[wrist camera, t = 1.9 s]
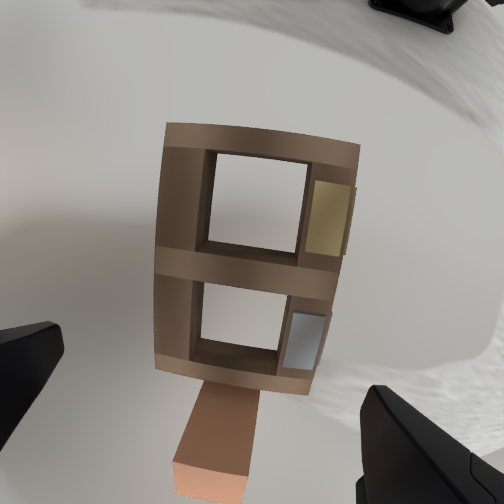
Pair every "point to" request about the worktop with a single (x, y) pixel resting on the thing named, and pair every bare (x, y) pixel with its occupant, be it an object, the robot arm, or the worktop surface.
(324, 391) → the worktop surface
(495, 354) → the worktop surface
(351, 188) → the socket block
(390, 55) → the worktop surface
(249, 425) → the tan rectangular block
